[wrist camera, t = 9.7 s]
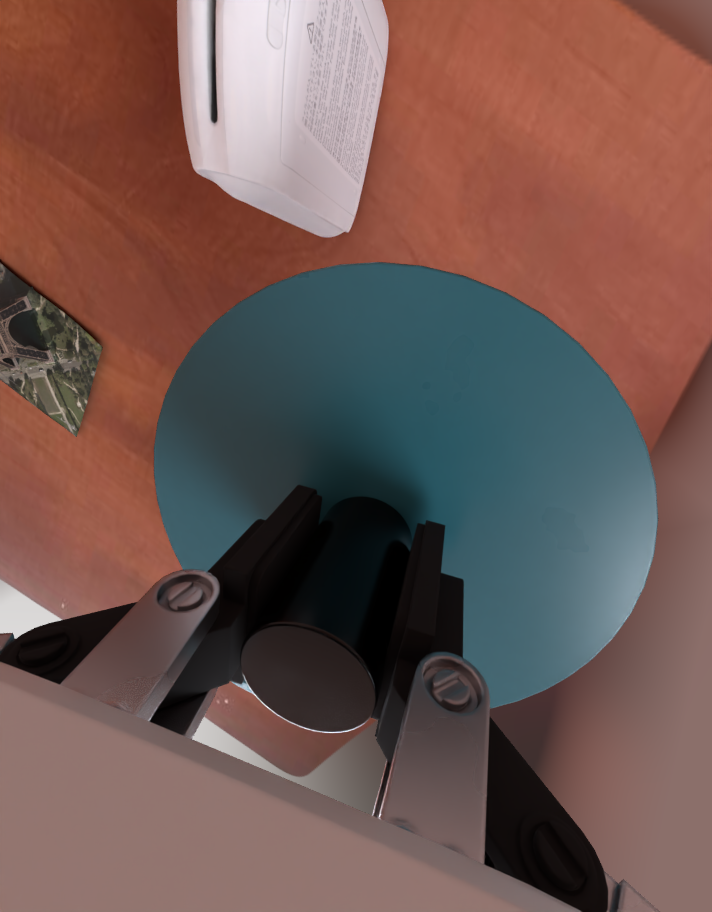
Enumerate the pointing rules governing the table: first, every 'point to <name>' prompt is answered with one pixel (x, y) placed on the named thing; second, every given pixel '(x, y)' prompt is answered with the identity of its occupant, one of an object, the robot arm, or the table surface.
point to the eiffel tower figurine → (45, 353)
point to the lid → (408, 478)
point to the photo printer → (284, 102)
